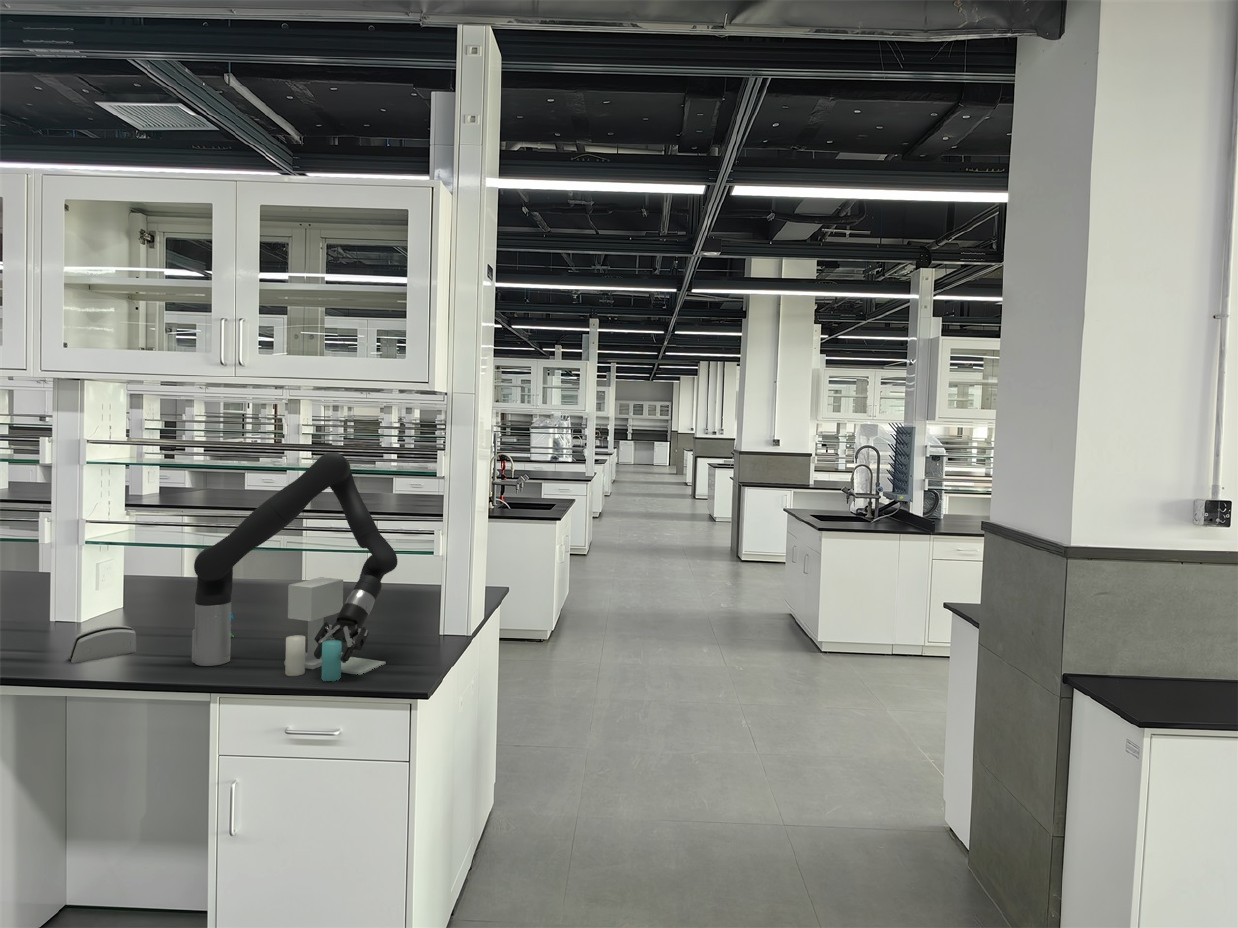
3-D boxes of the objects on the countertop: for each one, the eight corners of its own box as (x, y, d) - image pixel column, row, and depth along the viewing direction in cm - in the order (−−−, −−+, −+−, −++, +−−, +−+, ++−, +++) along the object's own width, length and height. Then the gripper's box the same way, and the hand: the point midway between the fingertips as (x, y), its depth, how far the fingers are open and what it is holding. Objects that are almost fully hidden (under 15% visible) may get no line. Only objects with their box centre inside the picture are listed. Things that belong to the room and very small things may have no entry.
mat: (324, 669, 230) (324, 667, 230) (350, 658, 241) (351, 656, 241) (360, 674, 226) (360, 672, 226) (385, 663, 238) (385, 661, 238)
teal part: (317, 680, 221) (318, 643, 220) (329, 675, 225) (330, 639, 225) (332, 682, 219) (333, 645, 219) (344, 677, 224) (345, 641, 223)
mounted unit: (284, 664, 233) (285, 584, 232) (318, 652, 247) (319, 576, 246) (313, 669, 230) (314, 587, 229) (345, 656, 244) (347, 579, 243)
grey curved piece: (129, 648, 245) (134, 619, 242) (135, 656, 242) (141, 627, 239) (65, 659, 231) (70, 628, 229) (71, 668, 229) (76, 637, 226)
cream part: (281, 674, 224) (281, 638, 224) (293, 669, 229) (294, 634, 229) (296, 676, 223) (296, 640, 222) (308, 671, 228) (309, 636, 227)
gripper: (329, 599, 231) (301, 649, 221) (372, 604, 227) (345, 655, 216) (341, 614, 236) (314, 663, 226) (383, 619, 232) (357, 669, 221)
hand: (329, 659), depth 221 cm, fingers open, 8 cm apart
